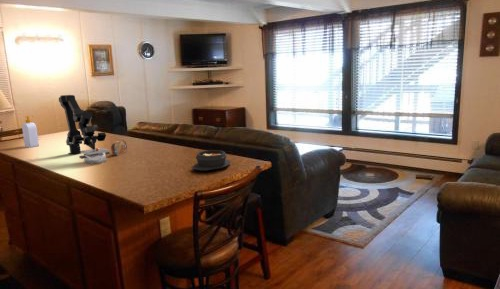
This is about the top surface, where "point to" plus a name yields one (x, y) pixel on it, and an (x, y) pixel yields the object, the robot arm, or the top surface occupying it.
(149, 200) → the top surface
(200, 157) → the casserole
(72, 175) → the top surface
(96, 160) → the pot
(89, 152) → the lid
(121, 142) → the tin
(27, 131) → the soap bottle
